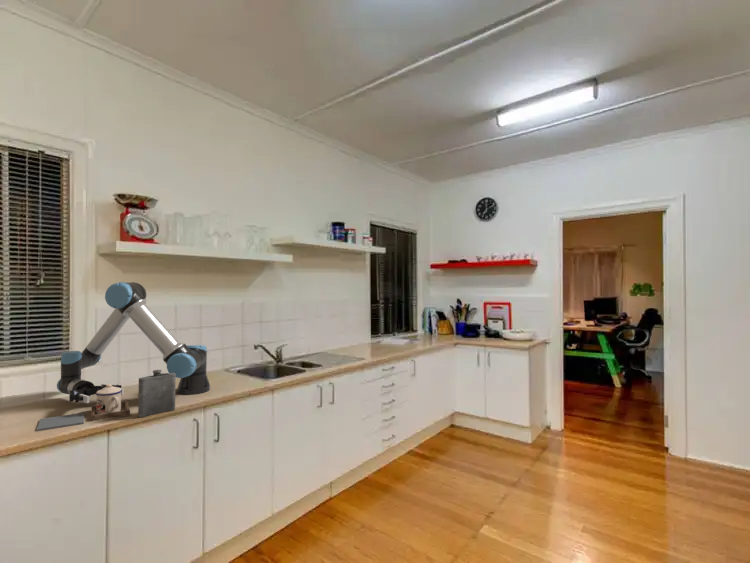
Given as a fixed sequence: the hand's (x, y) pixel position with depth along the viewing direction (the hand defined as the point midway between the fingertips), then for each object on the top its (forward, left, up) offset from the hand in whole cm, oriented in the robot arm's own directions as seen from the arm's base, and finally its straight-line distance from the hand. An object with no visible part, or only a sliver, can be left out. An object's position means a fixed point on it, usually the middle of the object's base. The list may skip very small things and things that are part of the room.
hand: (106, 395), depth 170 cm
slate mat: (+15, +5, -7) cm, 17 cm away
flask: (-17, +13, -7) cm, 23 cm away
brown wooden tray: (-1, +2, -7) cm, 7 cm away
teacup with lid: (-1, +2, -7) cm, 7 cm away
